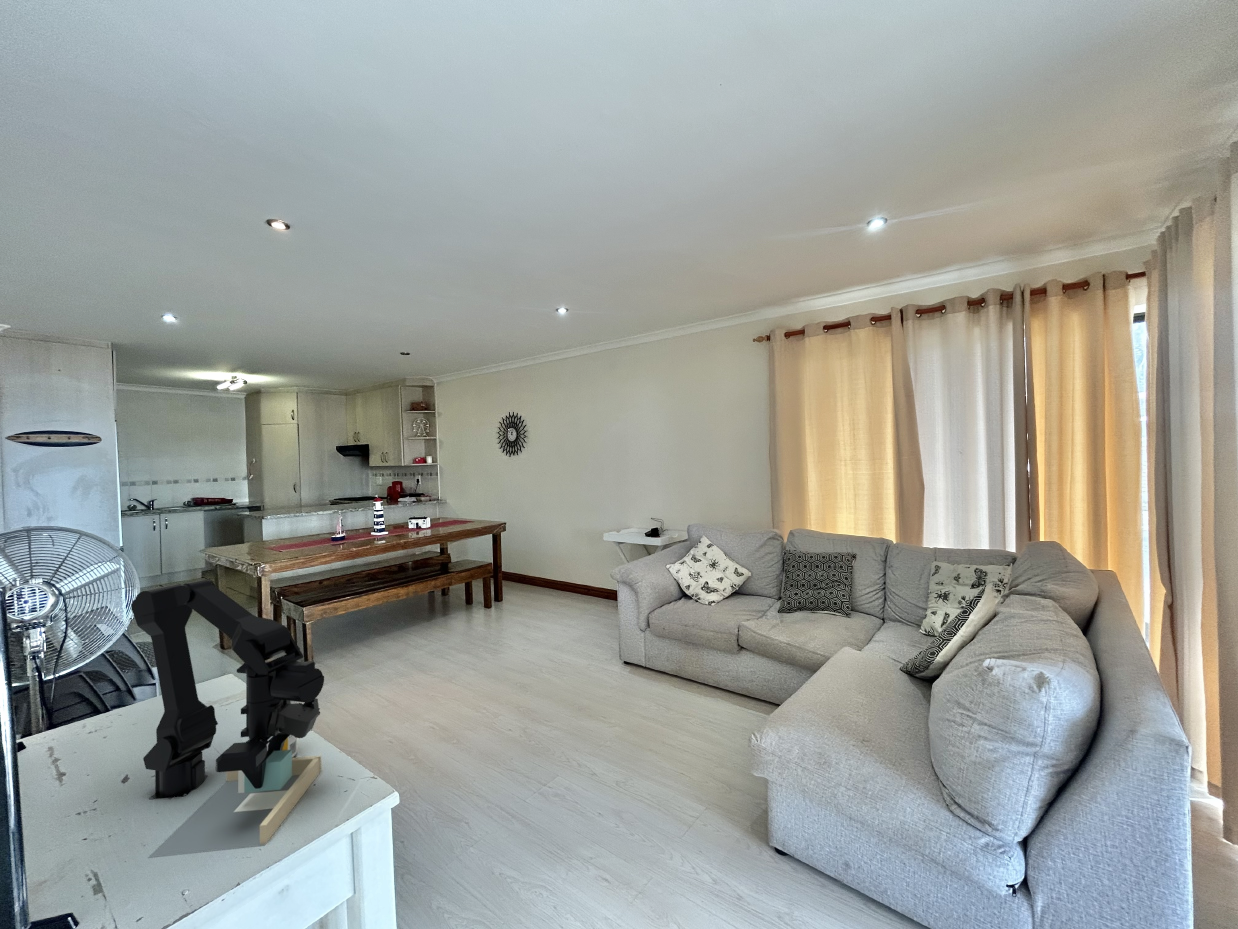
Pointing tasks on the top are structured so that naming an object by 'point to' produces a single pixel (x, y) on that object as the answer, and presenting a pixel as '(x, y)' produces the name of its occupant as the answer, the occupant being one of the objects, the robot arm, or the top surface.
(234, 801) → the board
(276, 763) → the teal block
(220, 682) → the top surface
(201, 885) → the top surface
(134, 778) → the top surface
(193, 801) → the top surface
